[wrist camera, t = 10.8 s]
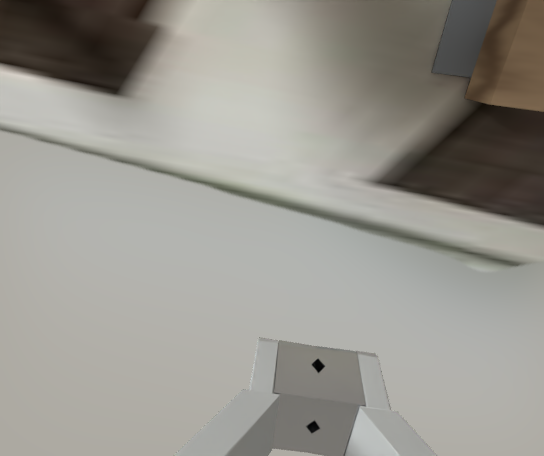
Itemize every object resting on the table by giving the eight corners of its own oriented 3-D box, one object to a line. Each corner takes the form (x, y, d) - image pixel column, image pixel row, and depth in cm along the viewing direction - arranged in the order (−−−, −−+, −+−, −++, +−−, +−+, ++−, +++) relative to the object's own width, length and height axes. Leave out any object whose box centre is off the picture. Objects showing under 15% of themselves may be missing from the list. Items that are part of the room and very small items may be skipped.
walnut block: (464, 98, 38) (518, -66, 32) (521, 105, 38) (587, -58, 32) (490, 104, 33) (561, -92, 27) (556, 113, 33) (643, -82, 27)
